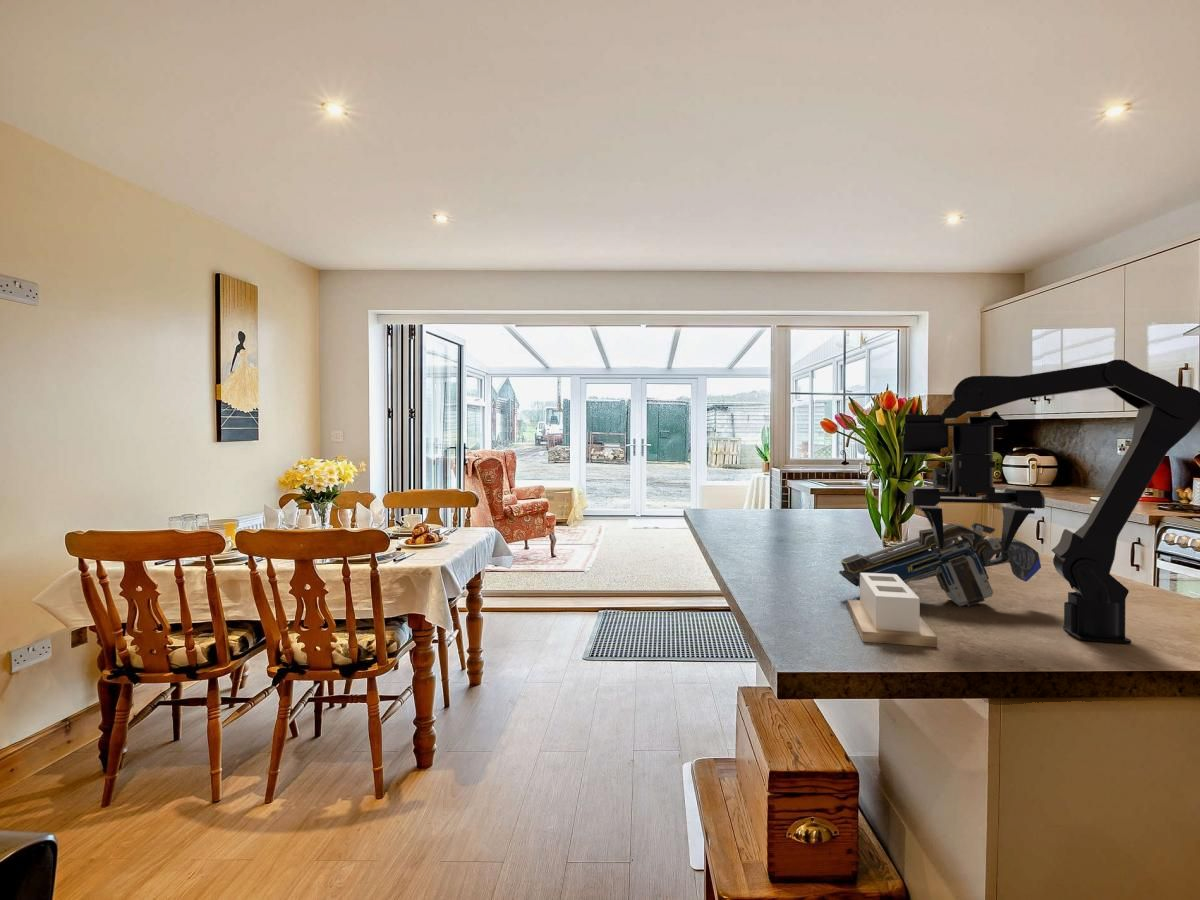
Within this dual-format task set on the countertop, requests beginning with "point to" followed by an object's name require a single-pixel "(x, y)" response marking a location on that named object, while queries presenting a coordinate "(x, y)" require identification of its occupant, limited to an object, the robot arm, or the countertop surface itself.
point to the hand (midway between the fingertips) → (972, 550)
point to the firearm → (948, 561)
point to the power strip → (889, 602)
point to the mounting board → (888, 636)
